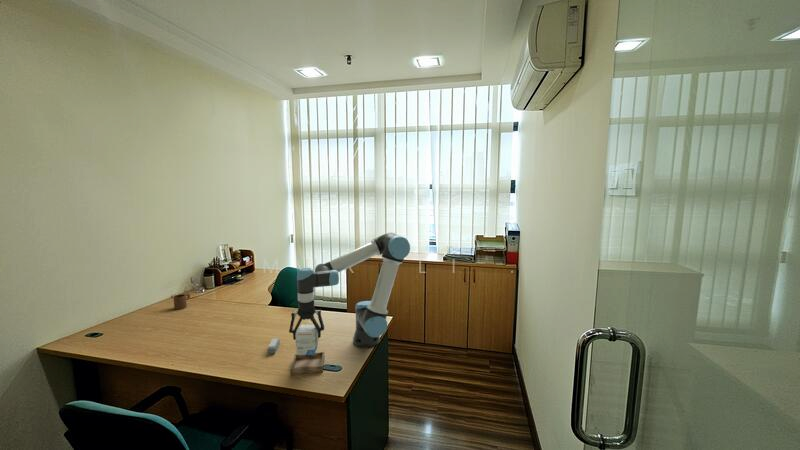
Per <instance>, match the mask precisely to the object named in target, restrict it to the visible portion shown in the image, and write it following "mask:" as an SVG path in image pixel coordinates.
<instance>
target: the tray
mask: <svg viewBox="0 0 800 450" xmlns="http://www.w3.org/2000/svg"><path fill="white" fill-rule="evenodd" d="M324 364H325V351H319V352H318V351H316V352H315V355H297V353H296V354H295V353H294V357H293V360H292V364H291V366H290V376H296V375H307V374H316V373H323V372H324Z"/></svg>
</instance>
